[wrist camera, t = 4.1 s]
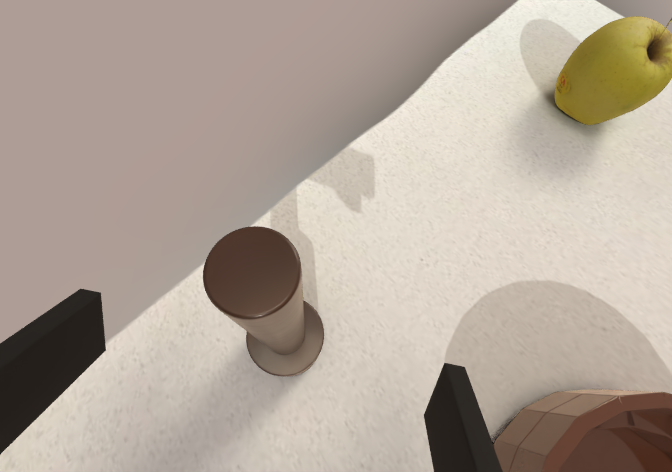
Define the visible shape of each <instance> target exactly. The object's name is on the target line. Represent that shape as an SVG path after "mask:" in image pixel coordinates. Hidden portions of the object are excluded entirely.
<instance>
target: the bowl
mask: <svg viewBox="0 0 672 472" xmlns="http://www.w3.org/2000/svg"><path fill="white" fill-rule="evenodd" d="M493 446H494V449H495V452H496V454H497V457H498V460H499V463H500V465H501V468H502V471H503V472H672V394H669V393H665V392H648V391H623V390H602V389H588V390H575V391H561V392H555V393H553V394H551V395H549V396H547V397H545V398H543V399H541V400H539V401H537V402H535V403H533V404H531V405H529V406H527V407H525V408H523V409H522V410H521V411H520V412H519V413H518V415H517V416H516V417H515V418H514V419H513V420H512V422H511V423H510V424H509V425H508V426H507V427H506V429H505V430H504V431H503V432H502V433H501V434H500V435H499V437H498V438H497V439H496V440H495V443H494V445H493Z"/></svg>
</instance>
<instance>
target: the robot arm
mask: <svg viewBox="0 0 672 472" xmlns="http://www.w3.org/2000/svg"><path fill="white" fill-rule="evenodd" d="M105 351H106V347H105V336H104V324H103V313H102V302H101V293H99V292H94V291H89V290H84V289H80V290H78V291H77V292H75V293H74V294H72V295H71V296H69V297H68V298H66V299H65V300H63V301H62V302H60V303H59V304H58V305H56V306H55V307H53V308H52V309H50V310H49V311H47V312H46V313H44V314H43V315H41V316H40V317H38V318H37V319H36V320H34V321H33V322H31V323H30V324H28V325H27V326H25V327H24V328H22V329H21V330H20V331H18V332H17V333H15V334H14V335H12V336H11V337H9V338H8V339H6V340H5V341H3V342H2V343H0V454H1V453H2V452H3V451H4V450H5V449H6V448H7V447H8V446H9V445H10V444H11V443H12V442H13V441H14V440H15V439H16V438H17V437H18V436H19V435H20V434H21V433H22V432H23V431H24V430H25V429H26V428H27V427H28V426H29V425H30V424H31V423H32V422H33V421H35V420H36V419H37V418H38V417H39V416H40V415H41V414H42V413H43V412H44V411H45V410H46V409H47V408H48V407H49V406H50V405H51V404H52V403H53V402H54V401H55V400H56V399H57V398H58V397H59V396H60V395H61V394H62V393H63V392H64V391H65V390H66V389H67V388H68V387H69V386H70V385H71V384H72V383H73V382H74V381H75V380H76V379H77V378H78V377H79V376H80V375H81V374H82V373H83V372H84V371H85V370H86V369H87V368H88V367H89V366H90V365H91V364H92V363H93V362H94V361H95V360H96V359H97V358H98V357H99V356H100V355H101V354H102V353H104V352H105ZM424 419H425V424H426V430H427V435H428V440H429V446H430V451H431V457H432V462H433V468H434V472H503V471H502V468H501V465H500V463H499V460H498V457H497V454H496V452H495V449H494V446H493V443H492V441H491V438H490V435H489V432H488V430H487V427H486V424H485V421H484V419H483V416H482V413H481V410H480V408H479V405H478V402H477V400H476V397H475V394H474V391H473V389H472V386H471V383H470V380H469V378H468V375H467V372H466V369H465V367H462V366H457V365H452V364H447V363H444V366H443V368H442V371H441V373H440V376H439V378H438V381H437V383H436V386H435V388H434V391H433V394H432V396H431V399H430V401H429V404H428V406H427V409H426V411H425V414H424Z"/></svg>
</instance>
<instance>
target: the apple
mask: <svg viewBox="0 0 672 472" xmlns="http://www.w3.org/2000/svg"><path fill="white" fill-rule="evenodd" d="M671 21H672V19H671V20H670V21H669V23H670V22H671ZM669 23H668V24H669ZM667 26H668V25H667ZM666 28H667V27H666ZM666 28H665V27H664V26H663V25H661V24H660V23H658V22H656V21H654V20H652V19H649V18H646V17H639V16H636V17H626V18H622V19H618V20H615V21H613V22H610V23H608V24H606V25H605V26H603V27H601V28H600V29H598V30H597V31H596V32H594V33H593V34H591V35H590V36H589V37H587V38H586V39H585V40H584V41H583V42H582V43H581V44H580V45H579V46H578V47H577V48H576V50H575V51H574V52H573V53H572V55H571V56H570V58H569V59H568V61H567V62H566V64H565V66H564V67H563V69H562V71H561V72H560V75H559V77H558V79H557V83H556V88H555V102H556V105H557V106H558V107H559V108H560V109H561V110H562V111H564V112H565V113H566V114H568V115H569V116H570V117H572V118H574V119H576V120H577V121H579V122H581V123H583V124H587V125H592V124H598V123H601V122H604V121H607V120H610V119H613V118H615V117H617V116H620V115H623V114H625V113H628V112H630V111H632V110H635V109H636V108H638V107H640V106H642V105H644V104H645V103H647V102H648V101H650V100H651V99H653V98H654V97H656V96H657V95H658V94H659V93H660V92H661V91H662V90H663V89H664V88H665V87H666V85H667V84H668V83H669V82H670V80H671V78H672V35H671V34H670V32H669V31H668V30H667V29H666Z"/></svg>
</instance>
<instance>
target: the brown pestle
mask: <svg viewBox="0 0 672 472" xmlns="http://www.w3.org/2000/svg"><path fill="white" fill-rule="evenodd" d="M203 282H204V287H205V291H206V293H207V295H208V297H209V299H210V300H211V302H212V303H213V304H214V305H215V306H216V307H217V308H218V309H219V310H220V311H221V312H223V313H224V314H225V315H227V316H228V317H229V318H230V319H232V320H233V321H234V322H236V323H237V324H238V325H240V326H241V327H242V328H244V329H245V330H246V331H247V335H246V342H247V348H248V351H249V354H250V356H251V358H252V359H253V361H254V362H255V363H256V365H257V366H258V367H260V368H261V369H262V370H264V371H265V372H267V373H269V374H272V375H276V376H295V375H299V374H301V373H303V372H305V371H306V370H308V369H309V368H310V367H311V366H312V365H313V364H314V362H315V361H316V359H317V357H318V355H319V353H320V351H321V349H322V345H323V340H324V328H323V324H322V321H321V318H320V316H319V315H318V313H317V312H316V310H315V309H314V308H313V307H312V306H311V305H310V304H308V303H307V302H305V301H303V290H302V271H301V262H300V258H299V255H298V252H297V250H296V248H295V247H294V245H293V244H292V243H291V242H290V241H289V240H288V239H287V238H286V237H285V236H284V235H282V234H281V233H279V232H277V231H275V230H272V229H269V228H265V227H245V228H242V229H238V230H235V231H233V232H231V233H229V234H227V235H226V236H224V237H223V238H222V239H221V240H219V241H218V242H217V243H216V245H215V246H214V247H213V248H212V250H211V252H210V253H209V255H208V257H207V259H206V262H205V265H204V270H203Z"/></svg>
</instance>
